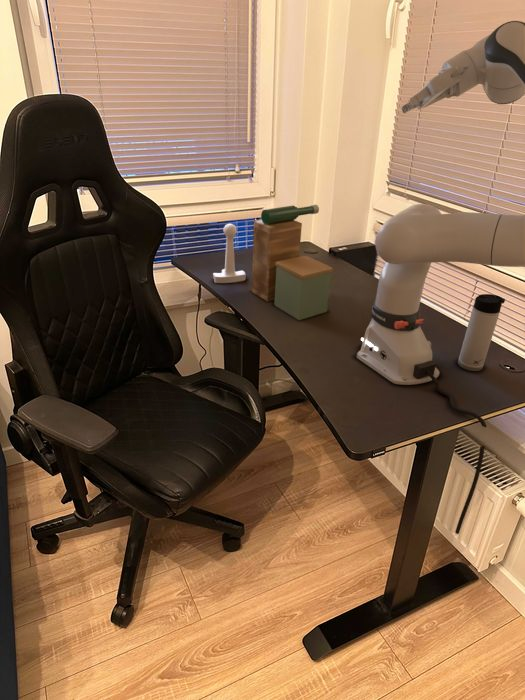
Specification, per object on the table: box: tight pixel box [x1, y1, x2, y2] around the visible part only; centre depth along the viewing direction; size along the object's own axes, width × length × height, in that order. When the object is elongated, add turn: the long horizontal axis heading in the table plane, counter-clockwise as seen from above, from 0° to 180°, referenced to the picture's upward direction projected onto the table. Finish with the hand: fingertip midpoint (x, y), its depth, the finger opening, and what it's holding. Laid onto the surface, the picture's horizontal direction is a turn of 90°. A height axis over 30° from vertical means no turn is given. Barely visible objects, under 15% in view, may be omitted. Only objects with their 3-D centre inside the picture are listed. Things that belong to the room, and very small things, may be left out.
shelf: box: [251, 219, 303, 302], centre depth 163 cm, size 9×12×24 cm
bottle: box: [260, 204, 320, 224], centre depth 159 cm, size 20×4×4 cm, turn 126°
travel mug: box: [457, 293, 506, 372], centre depth 128 cm, size 6×7×20 cm
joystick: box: [212, 223, 247, 284], centre depth 174 cm, size 11×8×20 cm
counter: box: [273, 255, 334, 321], centre depth 156 cm, size 13×12×14 cm
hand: (406, 107), depth 129 cm, fingers open, 8 cm apart
